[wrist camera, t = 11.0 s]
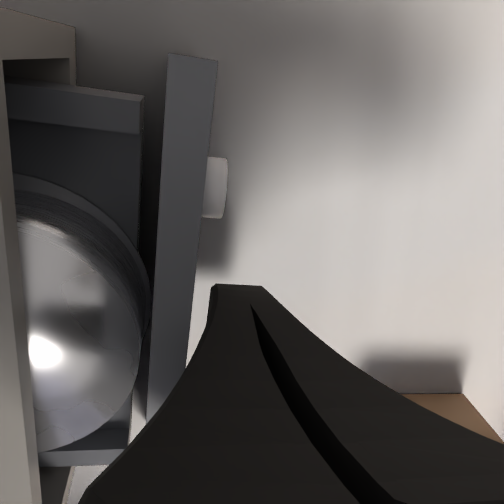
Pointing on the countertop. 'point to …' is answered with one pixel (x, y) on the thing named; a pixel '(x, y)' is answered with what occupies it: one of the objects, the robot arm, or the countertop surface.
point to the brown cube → (456, 411)
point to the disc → (77, 317)
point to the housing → (9, 267)
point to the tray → (126, 203)
